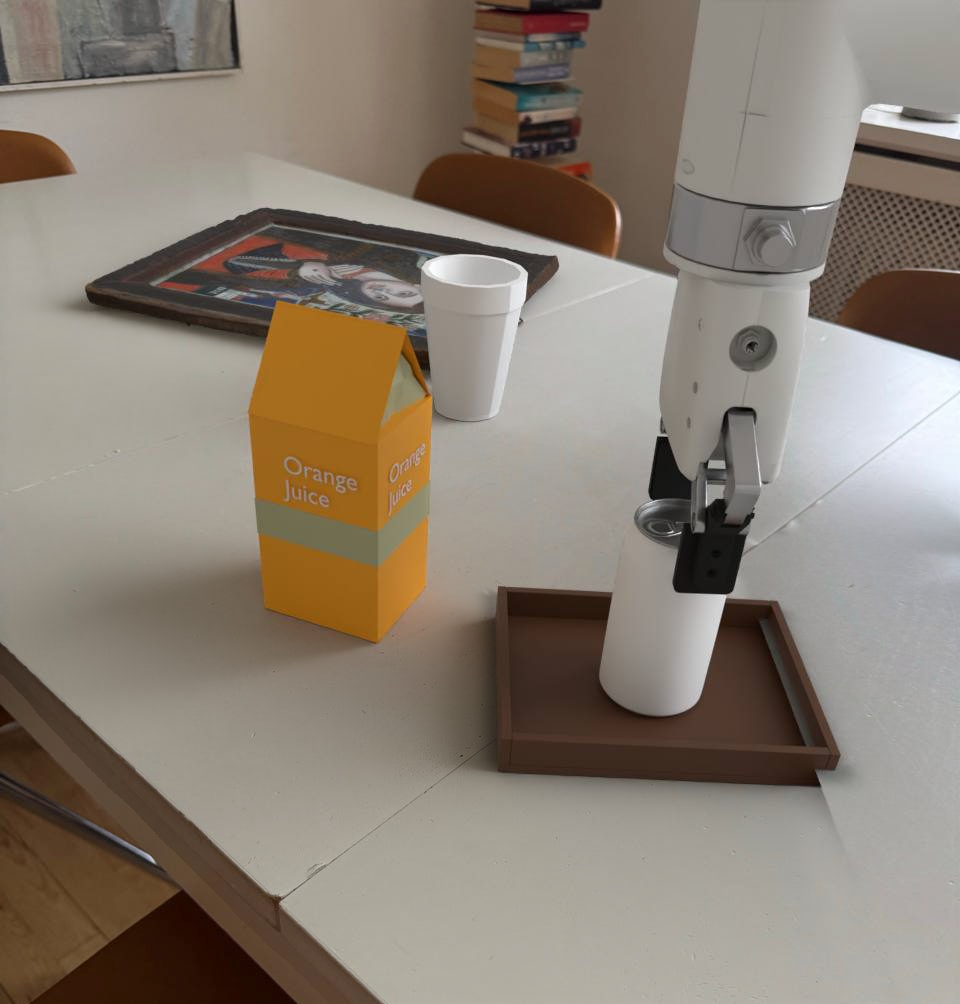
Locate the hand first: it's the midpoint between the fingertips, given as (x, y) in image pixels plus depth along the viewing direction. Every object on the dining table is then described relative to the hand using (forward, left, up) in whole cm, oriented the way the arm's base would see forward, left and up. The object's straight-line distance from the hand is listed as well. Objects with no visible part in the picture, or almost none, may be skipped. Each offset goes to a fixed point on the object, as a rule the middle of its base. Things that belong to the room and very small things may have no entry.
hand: (686, 541), depth 57 cm
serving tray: (0, 0, -11) cm, 11 cm away
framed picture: (+27, -73, -11) cm, 79 cm away
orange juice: (+20, -9, -11) cm, 25 cm away
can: (0, 0, -11) cm, 11 cm away
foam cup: (+12, -42, -11) cm, 45 cm away
